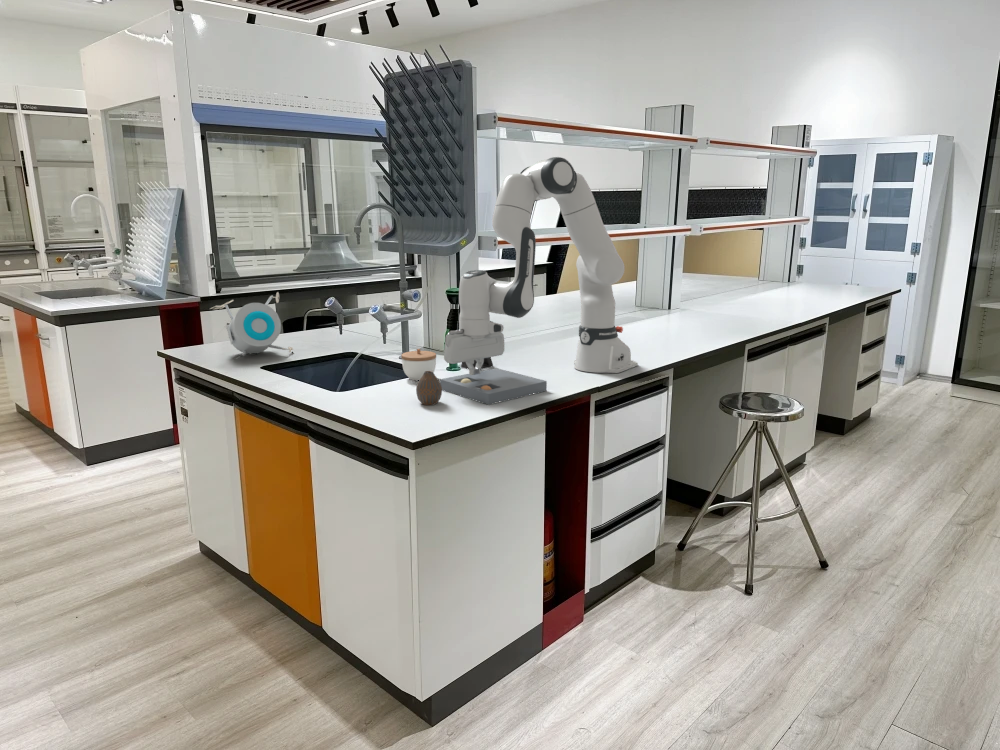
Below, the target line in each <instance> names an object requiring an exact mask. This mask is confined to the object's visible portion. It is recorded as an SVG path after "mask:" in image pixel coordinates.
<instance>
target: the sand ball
mask: <svg viewBox="0 0 1000 750" xmlns="http://www.w3.org/2000/svg"><path fill="white" fill-rule="evenodd" d="M470 382H471V380H470V379H467V378H465V379H463V380H462V381H461V383H464V384H465V383H470Z"/></svg>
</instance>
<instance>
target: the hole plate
mask: <svg viewBox="0 0 1000 750" xmlns="http://www.w3.org/2000/svg"><path fill="white" fill-rule="evenodd" d="M465 378H467V379H470V380H471V382H470V383H465V384H464V383H461V381H462V380H463V379H465ZM439 381H440V384H441V387H442V391H444V390H445V392H447V391H448V393H450V392H451V394H454V393H455V394H454V395H457V394H458V395H457V396H460V395H461V396H460V397H463V396H464V397H463V398H466V397H467V398H466V399H469V398H471V399H470V400H472V399H474V400H473V401H475V400H477V401H476V402H478V401H480V402H479V403H481V402H483V403H482V404H484V403H487V404H490V405H493V404H492V403H494V404H496V403H495V402H498V403H500V402H499V401H503V402H505V401H504V400H507V401H509V400H508V399H511V400H513V399H512V398H515V399H518V398H517V397H519V398H522V397H521V396H524V397H526V396H525V395H528V396H530V395H529V394H532V395H534V394H533V393H536V394H539V393H538V392H541V393H544V392H543V391H545V392H547V387H548V386H547V384H548V383H547V382H548V381H547V380H543V379H540V378H536V377H532V376H529V375H525V374H520V373H516V372H513V371H510V370H507V369H503V368H502V369H501V368H497V367H496V368H492V369H491V368H490V369H486V370H481V373H480V374H475V375H470V374H469V373H465V374H460V375H454V376H450V377H445V378H440V379H439ZM485 385H487V386H489V387H491V390H484V389H481V387H482V386H485ZM487 404H486V405H487Z"/></svg>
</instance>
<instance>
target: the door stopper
mask: <svg viewBox="0 0 1000 750" xmlns="http://www.w3.org/2000/svg"><path fill="white" fill-rule="evenodd" d="M476 363H477V361H476V360H474V364H473V366H474V367H475V366H476ZM491 366H492V367H493V366H494V364H493V360H492V357H489V358H484V363H483V365H482V367H481V369H487V368H491ZM460 367H461V368H464V369H467V368H468V366H467V364H466V362H461V363H460ZM468 370H469V368H468Z"/></svg>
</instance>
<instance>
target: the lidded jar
mask: <svg viewBox="0 0 1000 750" xmlns="http://www.w3.org/2000/svg"><path fill="white" fill-rule="evenodd" d="M400 355H401V364H402V370H403V372H404V375H406V376H407V377H408V378H409V380H410V379H412V380H411V381H414V380H420V379H421V377H422V376H423V374H424V372H425V371H433V373H434V374H435V370H436V366H437V353H436V352H434V351H430V350H429V351H428V350H421V348H417V349H416V350H412V351H411V350H410V351H407V352H403V353H401V354H400Z"/></svg>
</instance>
